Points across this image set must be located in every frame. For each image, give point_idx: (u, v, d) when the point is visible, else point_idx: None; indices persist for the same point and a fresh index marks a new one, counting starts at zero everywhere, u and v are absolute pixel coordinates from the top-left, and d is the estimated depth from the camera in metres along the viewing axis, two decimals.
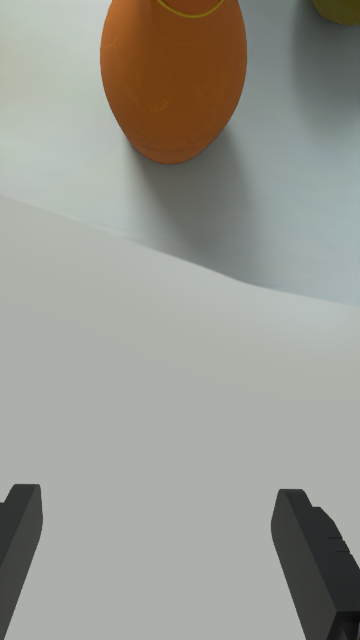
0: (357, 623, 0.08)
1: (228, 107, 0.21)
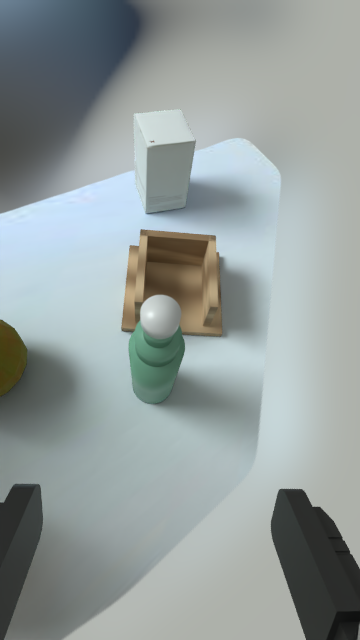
0: (357, 623, 0.08)
1: None
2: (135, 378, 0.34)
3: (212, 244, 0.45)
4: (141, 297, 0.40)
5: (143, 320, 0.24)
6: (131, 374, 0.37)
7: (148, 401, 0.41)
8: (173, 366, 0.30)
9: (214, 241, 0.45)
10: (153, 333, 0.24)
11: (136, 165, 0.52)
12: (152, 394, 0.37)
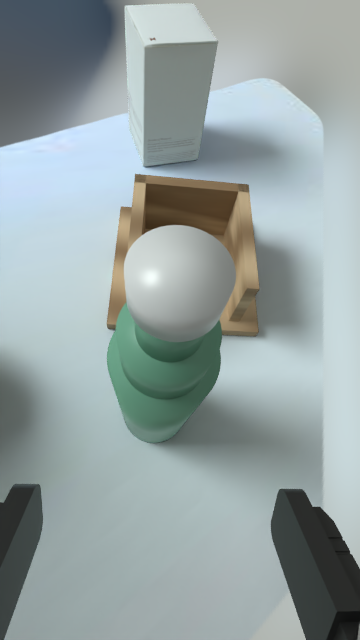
0: (357, 623, 0.08)
1: None
2: (124, 412, 0.19)
3: (244, 196, 0.30)
4: None
5: (132, 289, 0.08)
6: None
7: (148, 440, 0.25)
8: (199, 397, 0.14)
9: (247, 192, 0.30)
10: (160, 326, 0.09)
11: (130, 95, 0.37)
12: (155, 435, 0.22)
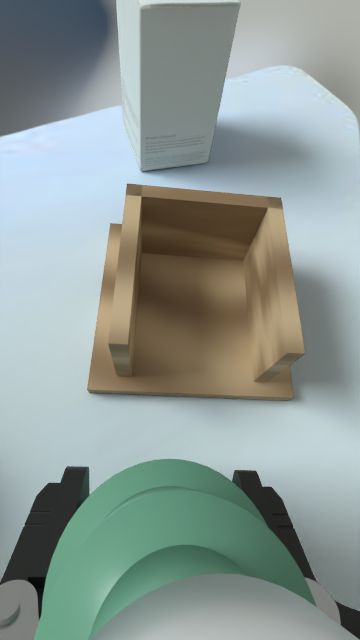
0: None
1: None
2: None
3: (276, 214, 0.22)
4: (125, 332, 0.17)
5: None
6: None
7: None
8: None
9: (279, 209, 0.22)
10: None
11: (123, 81, 0.29)
12: None
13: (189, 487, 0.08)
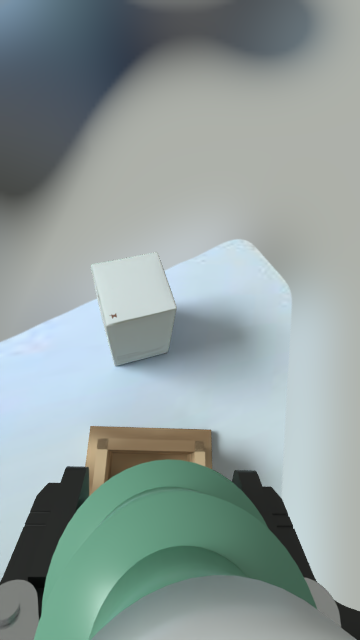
0: None
1: None
2: None
3: (200, 458, 0.32)
4: None
5: None
6: None
7: None
8: None
9: (203, 452, 0.32)
10: None
11: None
12: None
13: (189, 488, 0.08)
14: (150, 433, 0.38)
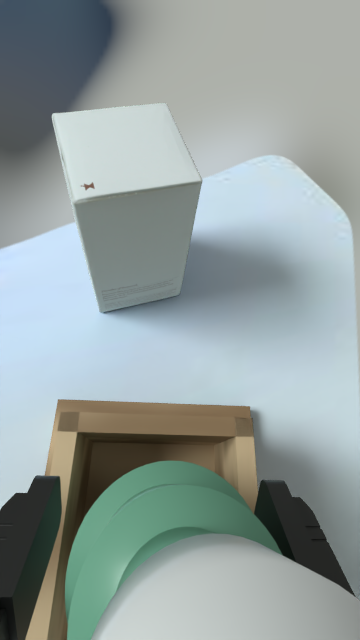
0: None
1: None
2: None
3: (245, 447, 0.17)
4: None
5: None
6: None
7: None
8: None
9: (250, 437, 0.18)
10: None
11: None
12: None
13: (189, 485, 0.09)
14: (153, 411, 0.24)
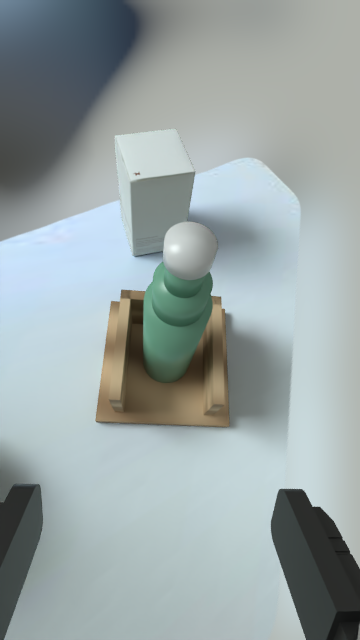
0: (357, 623, 0.08)
1: None
2: (149, 347, 0.28)
3: (216, 309, 0.34)
4: (118, 392, 0.29)
5: (168, 251, 0.18)
6: (143, 345, 0.31)
7: (161, 379, 0.35)
8: (199, 326, 0.24)
9: (219, 305, 0.34)
10: (181, 270, 0.18)
11: (120, 198, 0.41)
12: (168, 368, 0.31)
13: None
14: None
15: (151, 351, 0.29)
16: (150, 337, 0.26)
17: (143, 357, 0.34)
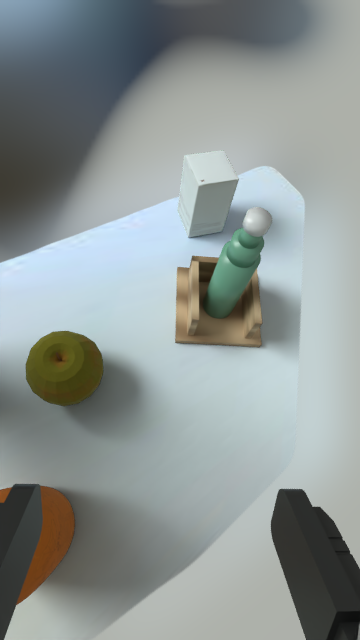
0: (357, 623, 0.08)
1: (43, 539, 0.29)
2: (218, 286, 0.47)
3: None
4: (197, 315, 0.48)
5: (249, 221, 0.36)
6: (210, 288, 0.50)
7: (217, 315, 0.53)
8: (254, 267, 0.42)
9: None
10: (254, 230, 0.37)
11: (182, 196, 0.60)
12: (226, 303, 0.50)
13: None
14: None
15: (218, 289, 0.47)
16: (222, 277, 0.45)
17: (206, 300, 0.53)
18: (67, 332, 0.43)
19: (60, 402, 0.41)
